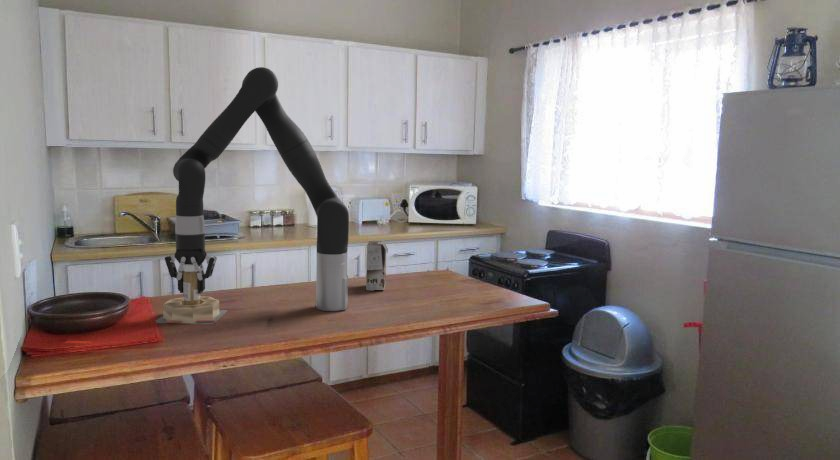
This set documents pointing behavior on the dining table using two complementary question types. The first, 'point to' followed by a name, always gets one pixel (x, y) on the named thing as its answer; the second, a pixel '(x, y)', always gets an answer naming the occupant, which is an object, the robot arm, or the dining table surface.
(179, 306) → the octagonal faceted ring
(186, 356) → the dining table surface
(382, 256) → the coffee box
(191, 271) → the sprinkles bottle
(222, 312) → the mat
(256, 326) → the dining table surface
